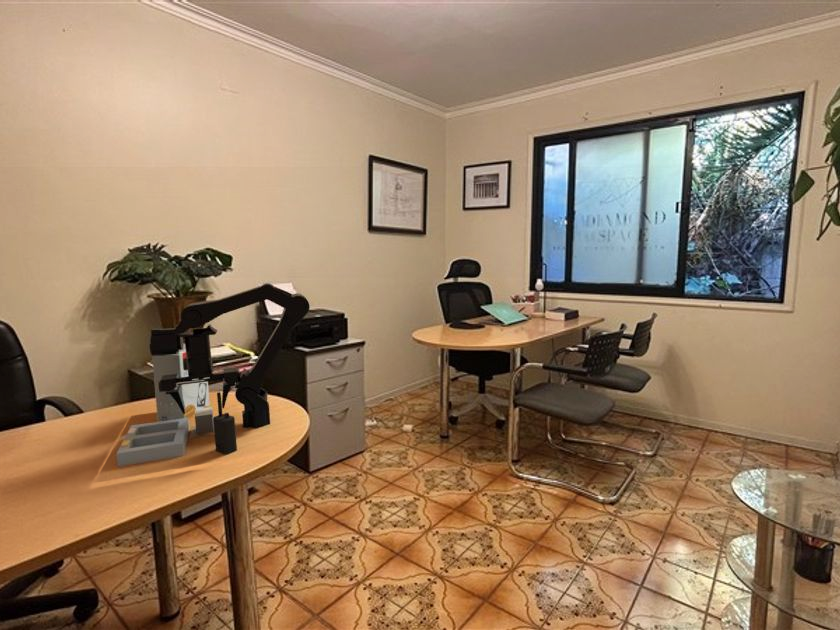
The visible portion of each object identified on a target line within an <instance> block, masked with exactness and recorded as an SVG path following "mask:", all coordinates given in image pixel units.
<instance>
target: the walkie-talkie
mask: <svg viewBox="0 0 840 630" xmlns="http://www.w3.org/2000/svg"><path fill="white" fill-rule="evenodd" d="M221 394H222V393H221V392H219V391H218V392H217V393H216V398H217V409H218V410H217V411H218V415H216V416H213V422H214V434H215V435H214V441H215V443H214V444H215V451H216V452H217V453H219V454H223V455H230V454H233V453H234V452H236V451H238V446H237V445H238V444H237V434H236V433H237V432H236V420H235V419H236V418H235V417H234V416H233V415H230V413H229V412H224V413H223V408H222V395H221Z"/></svg>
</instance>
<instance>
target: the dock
mask: <svg viewBox="0 0 840 630" xmlns="http://www.w3.org/2000/svg"><path fill="white" fill-rule="evenodd" d="M189 423H190V421H189V419H188V418H182V419H175V420H168V421H161V422H158V421H156V422H148V423H140V424H132V425H130V427H129V429H128V431H127V433H126V435H125V437H124V439H123V440H122V443H121V444H120V446H119V447H118V449H117V451H116V461H117V462H116V463H117V467H125V466H129V465H135V464H142V463H147V462H149V463H150V462H155V461H159V460H166V459H172V458H178V457H182V456H184V455H185V452H186V446H187V442H188V437H189V431H190V424H189Z"/></svg>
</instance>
